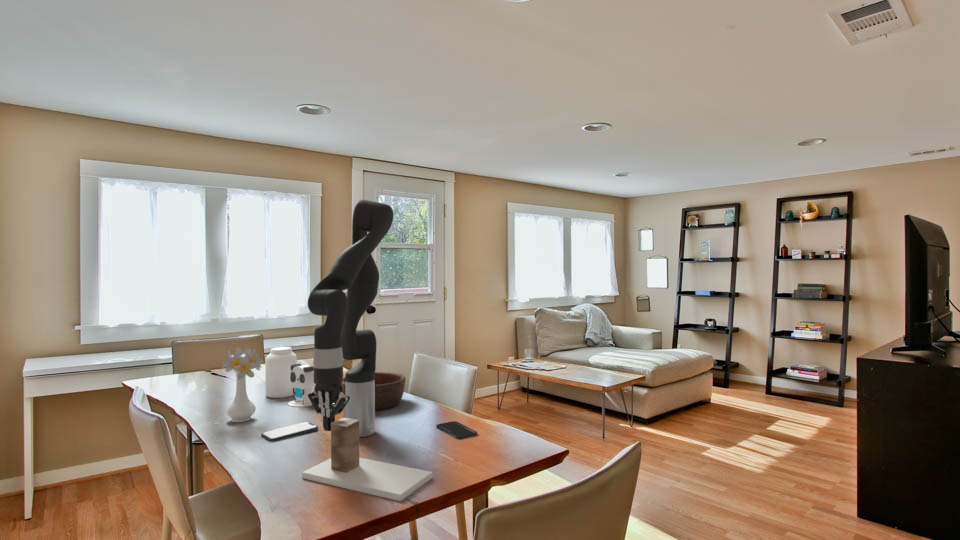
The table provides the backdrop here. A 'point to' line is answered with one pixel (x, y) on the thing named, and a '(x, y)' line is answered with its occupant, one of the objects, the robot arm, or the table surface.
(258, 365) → the flower vase
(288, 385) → the white jar
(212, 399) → the table surface
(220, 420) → the table surface
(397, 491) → the white board
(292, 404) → the panda figurine
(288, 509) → the table surface
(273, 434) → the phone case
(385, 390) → the wooden bowl
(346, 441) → the walnut block
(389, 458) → the table surface
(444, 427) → the phone
